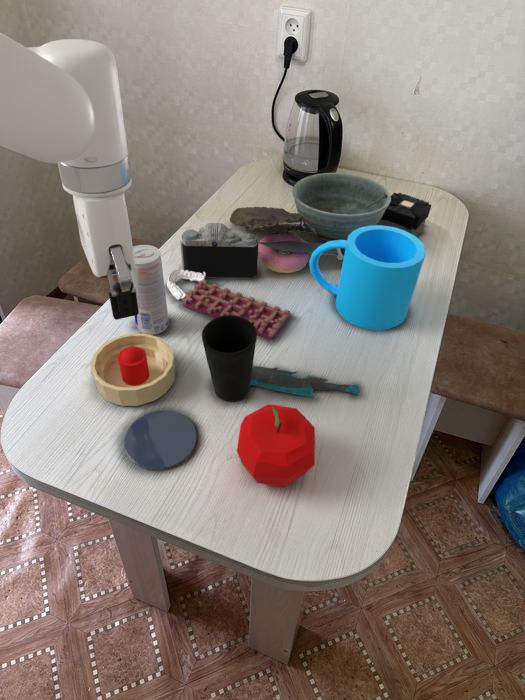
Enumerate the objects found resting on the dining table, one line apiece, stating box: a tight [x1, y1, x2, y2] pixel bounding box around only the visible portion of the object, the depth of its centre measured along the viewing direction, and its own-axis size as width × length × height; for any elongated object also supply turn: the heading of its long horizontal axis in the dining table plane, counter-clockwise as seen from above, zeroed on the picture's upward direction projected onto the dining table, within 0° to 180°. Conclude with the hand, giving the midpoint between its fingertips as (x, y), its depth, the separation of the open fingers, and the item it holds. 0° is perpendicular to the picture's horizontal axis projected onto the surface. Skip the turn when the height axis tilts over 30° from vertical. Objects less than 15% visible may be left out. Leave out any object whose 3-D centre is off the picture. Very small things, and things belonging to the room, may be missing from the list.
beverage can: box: [130, 244, 170, 336], centre depth 83 cm, size 6×6×15 cm
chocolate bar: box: [182, 279, 291, 341], centre depth 92 cm, size 7×19×2 cm, turn 62°
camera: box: [179, 222, 259, 280], centre depth 98 cm, size 15×7×10 cm, turn 92°
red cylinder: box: [118, 347, 149, 386], centre depth 77 cm, size 4×4×6 cm
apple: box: [236, 400, 316, 488], centre depth 66 cm, size 11×11×10 cm
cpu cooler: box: [378, 192, 432, 237], centre depth 115 cm, size 10×6×10 cm
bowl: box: [291, 172, 391, 242], centre depth 110 cm, size 21×21×10 cm
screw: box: [364, 194, 388, 209], centre depth 103 cm, size 8×1×1 cm, turn 137°
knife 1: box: [258, 241, 345, 261], centre depth 101 cm, size 30×2×5 cm
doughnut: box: [258, 231, 311, 274], centre depth 103 cm, size 11×11×4 cm
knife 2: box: [250, 365, 362, 399], centre depth 80 cm, size 24×1×5 cm
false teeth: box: [166, 267, 206, 300], centre depth 96 cm, size 8×6×2 cm
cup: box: [201, 315, 258, 403], centre depth 74 cm, size 8×8×12 cm
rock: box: [229, 206, 316, 235], centre depth 104 cm, size 25×4×15 cm
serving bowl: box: [90, 333, 176, 407], centre depth 78 cm, size 12×12×4 cm
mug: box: [308, 224, 426, 331], centre depth 91 cm, size 20×13×13 cm
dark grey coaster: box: [123, 409, 197, 471], centre depth 71 cm, size 10×10×1 cm
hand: (117, 294), depth 68 cm, fingers open, 9 cm apart
